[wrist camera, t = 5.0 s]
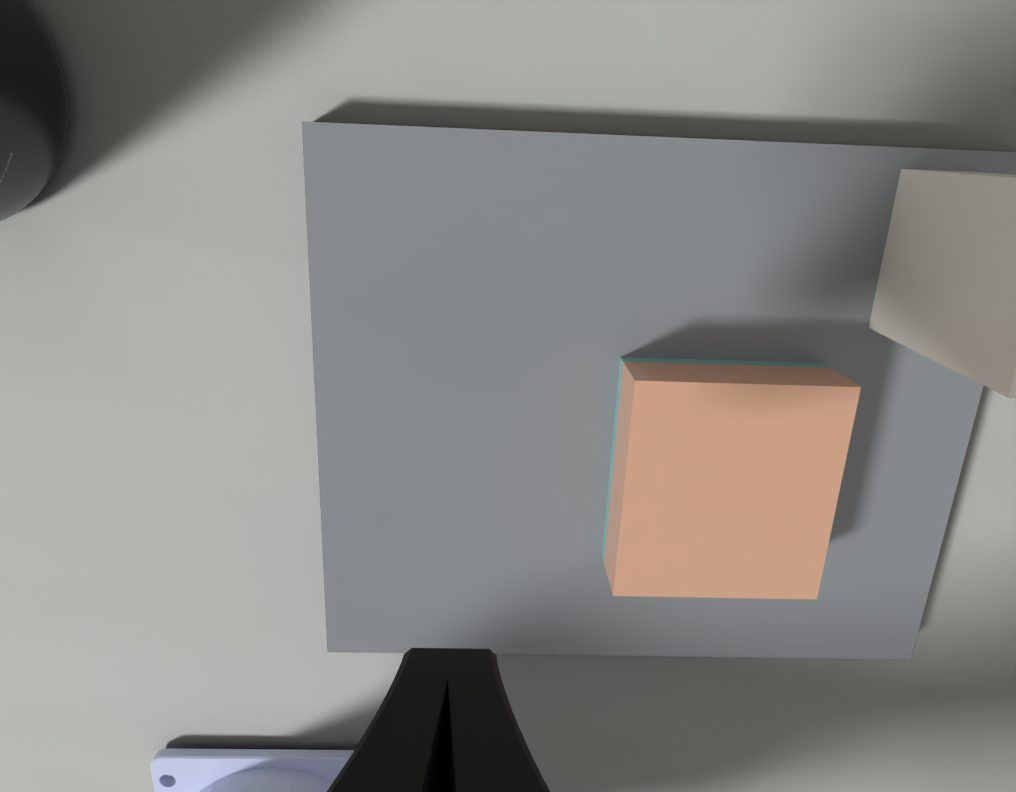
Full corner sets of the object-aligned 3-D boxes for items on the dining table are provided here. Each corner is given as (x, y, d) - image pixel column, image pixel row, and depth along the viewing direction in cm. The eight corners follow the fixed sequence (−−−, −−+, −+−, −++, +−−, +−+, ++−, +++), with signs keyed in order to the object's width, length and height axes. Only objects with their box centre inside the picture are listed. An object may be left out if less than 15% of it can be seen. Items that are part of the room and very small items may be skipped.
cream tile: (942, 330, 20) (1108, 400, 14) (868, 327, 19) (1007, 397, 14) (980, 172, 18) (1177, 186, 13) (901, 168, 18) (1067, 182, 13)
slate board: (894, 639, 24) (910, 659, 23) (334, 631, 23) (327, 651, 22) (1017, 152, 19) (1045, 153, 18) (311, 122, 18) (302, 121, 17)
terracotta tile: (601, 555, 22) (787, 559, 22) (613, 596, 20) (816, 599, 20) (620, 357, 20) (825, 363, 20) (634, 380, 18) (861, 387, 18)
